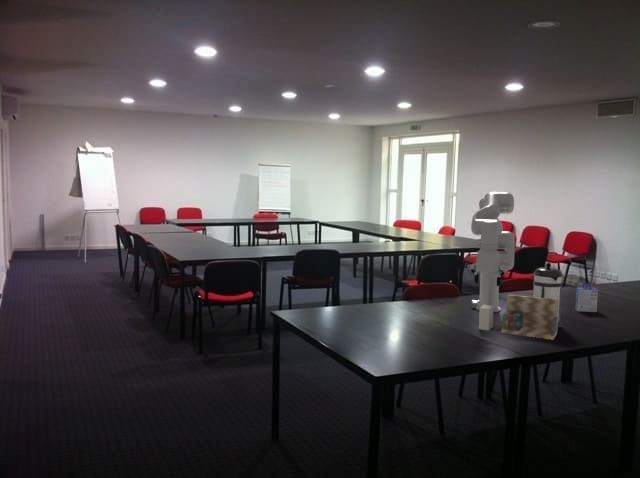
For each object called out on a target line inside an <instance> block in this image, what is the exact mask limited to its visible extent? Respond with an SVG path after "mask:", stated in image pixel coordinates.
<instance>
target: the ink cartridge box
mask: <svg viewBox="0 0 640 478" xmlns="http://www.w3.org/2000/svg"><path fill="white" fill-rule="evenodd" d="M598 292H599V289H598V288H596V287H591V283H582V287H575V306H574V307H575V309H574V310H575V311H576V312H586V313H587V312H588V313H589V312H590V313H597V312H598V311H597V310H598V297H599V296H598V295H599V294H598Z"/></svg>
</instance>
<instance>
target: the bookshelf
mask: <svg viewBox="0 0 640 478" xmlns="http://www.w3.org/2000/svg"><path fill="white" fill-rule="evenodd" d="M506 295H507V296H506V298H507V300H506V311H504V312H502V323H501V325H502V326H501V330H500V333H502V334H509V335H516V336H523V337H529V338H535V337H536V338H535V339H542V338H543V339H544V340H549V339H550V340H552V341H554V340H555V338H556V336H557V335H558V328H559V327H558V325H559V324H558V323H559V322H558V308H559V300H556V299H547V298H537V297H533V296H525V295H516V294H506Z"/></svg>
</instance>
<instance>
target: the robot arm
mask: <svg viewBox="0 0 640 478" xmlns="http://www.w3.org/2000/svg"><path fill="white" fill-rule="evenodd" d="M478 207H479V210H478V211H477V210H476V211H475V213H474V214H473V216H472V219H471V225H470V226H471V227H470V229H471V230H470V231H471V233H472V234H473V235H475V236H480V244H477V245H476V246H477V247H476V248H479V250H478V251H477V256H476V262H474V263H472V264H469V266H468V267H469V269H470V271H471V273H472V274H473V275H474V282H475V284H476V285H478V284H479V283H480V284H479V299H478V300H475V299H472V300H471V304H472V305H476V307H475V308H476V310H477V311H479V310H480V307H482V306H483V305H491V306H494V309H493V313H496V312H500V311H502V308H501V307H500V306H499V290H500V289H499V287H500V285H501V284H502V277H503V276H505V274H506V272H508V271H509V270H512V269H513V268H514V266H515V248H516V247H515V246H516V245H515V244H516V243H515V242H516V241H515V240H516V239H515V234H514V233H513V232H511V231H506V230H504V226H503V223H502V221H500V218H499V217H500V214H503V215H504V214H505V215H506V214H507V215H508V214H512V213H513V211H514V209H515V208H514V207H515V197H514V195H513V194H512V193H510V192H509V191H508V192H507V191H506V192H505V191H500V192H499V191H492V192H491V191H490V192H488V193H486V194H485V195H484V196H483V198H481V199H480V200H479V201H478ZM503 230H504V231H503ZM501 250H504V251H501ZM474 267H475V268H474ZM500 270H502V272H500ZM479 273H480V274H479ZM479 278H480V279H479Z"/></svg>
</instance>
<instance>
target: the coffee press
mask: <svg viewBox="0 0 640 478" xmlns="http://www.w3.org/2000/svg"><path fill="white" fill-rule="evenodd" d="M551 266H552V263H550V262H546V264H545V266H544V267H538V268H536V269H534V272H533V277H534V278H533V289H532V290H533V292H532V297H537V298H547V299H556V300H559V308H558V323H559V324H558V327H557V328H562V327H563V324H562V322H561V305H562V304H561V303H562V286H563V280H562V279H563V276H564V274H563V273H562V271H561V270H560V269H558V268H555V267H551Z"/></svg>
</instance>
